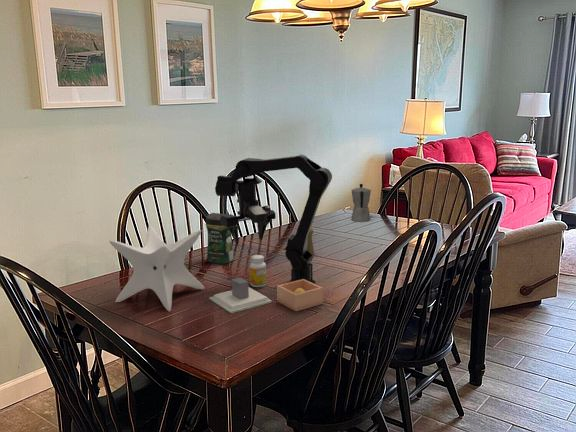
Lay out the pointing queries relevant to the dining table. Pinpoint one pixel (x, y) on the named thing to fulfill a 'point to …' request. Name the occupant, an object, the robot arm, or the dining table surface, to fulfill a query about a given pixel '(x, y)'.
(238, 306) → the lid
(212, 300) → the mat
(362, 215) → the coffeepot
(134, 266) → the white spiked star
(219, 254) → the coffee jar
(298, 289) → the ball
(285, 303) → the open wooden box
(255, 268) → the supplement bottle
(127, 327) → the dining table surface
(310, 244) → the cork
